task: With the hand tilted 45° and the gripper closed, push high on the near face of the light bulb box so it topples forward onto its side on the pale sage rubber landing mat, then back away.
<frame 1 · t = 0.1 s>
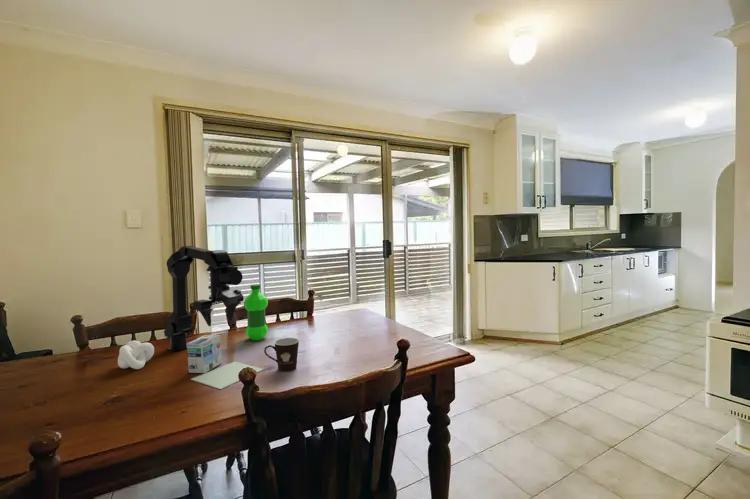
hand: (220, 323, 142), 15 cm above the table, tool pointing down, fingers open, 9 cm apart
white decorative knot: (137, 366, 138), on the table
landing mat: (228, 374, 129), on the table
coffee mug: (283, 368, 134), on the table
plastic bottle: (257, 338, 170), on the table
light bulb box: (206, 368, 135), on the table, touching landing mat
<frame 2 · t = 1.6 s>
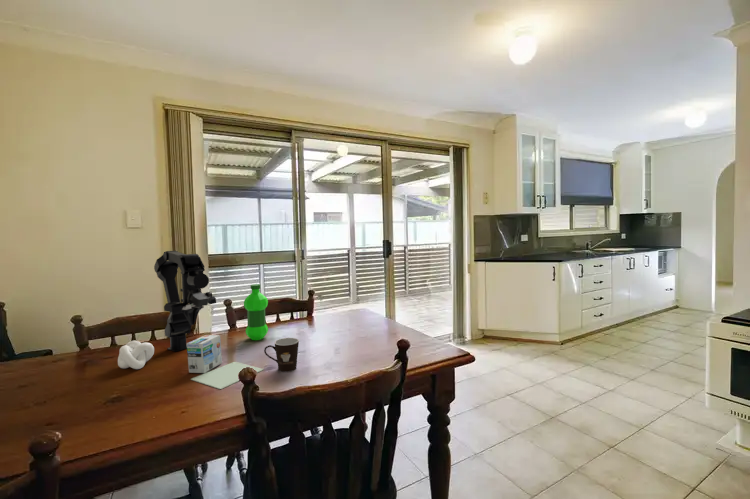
hand: (192, 324, 146), 13 cm above the table, tool pointing down, fingers closed
nothing on the table moved.
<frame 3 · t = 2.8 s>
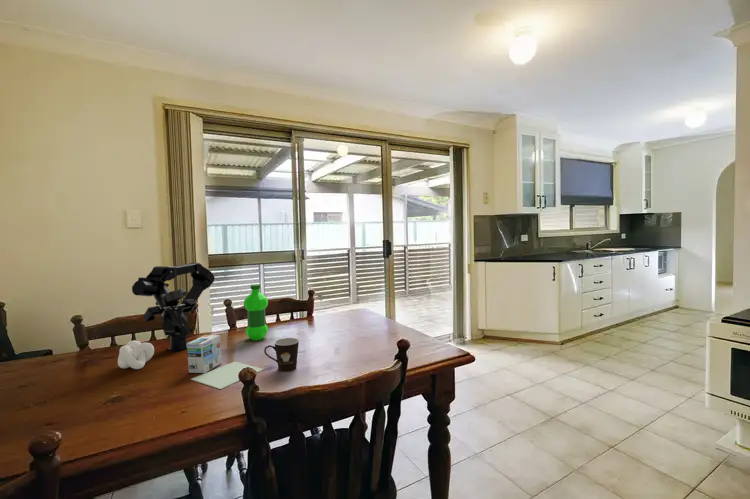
hand: (181, 326, 141), 14 cm above the table, tool tilted 45°, fingers closed
nothing on the table moved.
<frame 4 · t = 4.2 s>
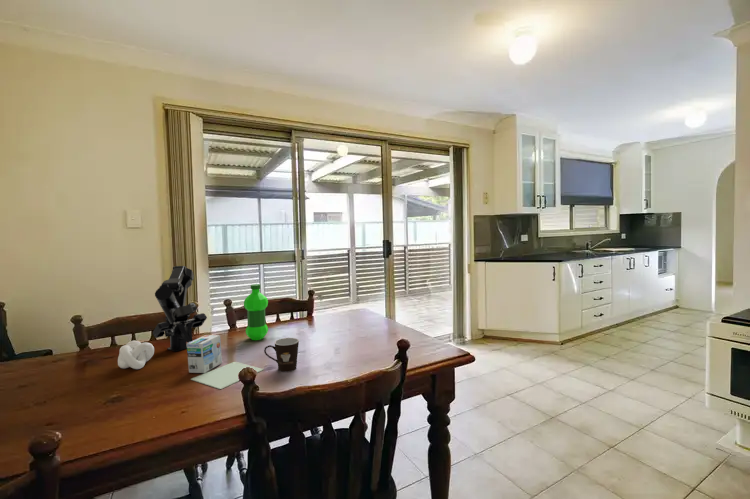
hand: (191, 342, 138), 8 cm above the table, tool tilted 45°, fingers closed
nothing on the table moved.
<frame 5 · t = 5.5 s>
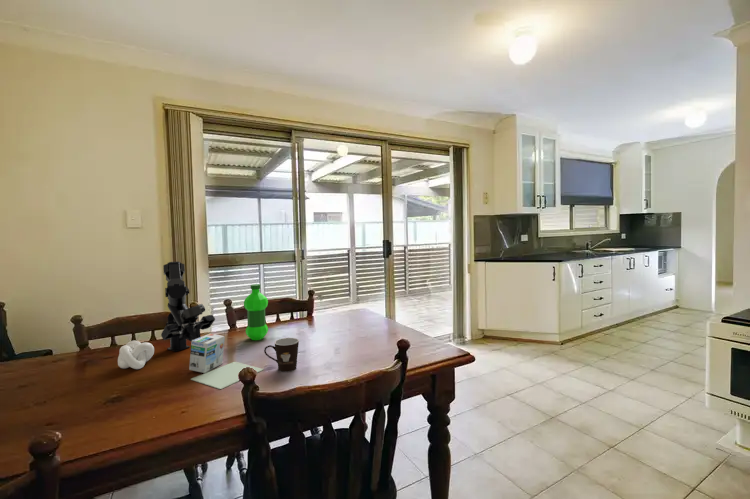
hand: (199, 344, 135), 8 cm above the table, tool tilted 45°, fingers closed
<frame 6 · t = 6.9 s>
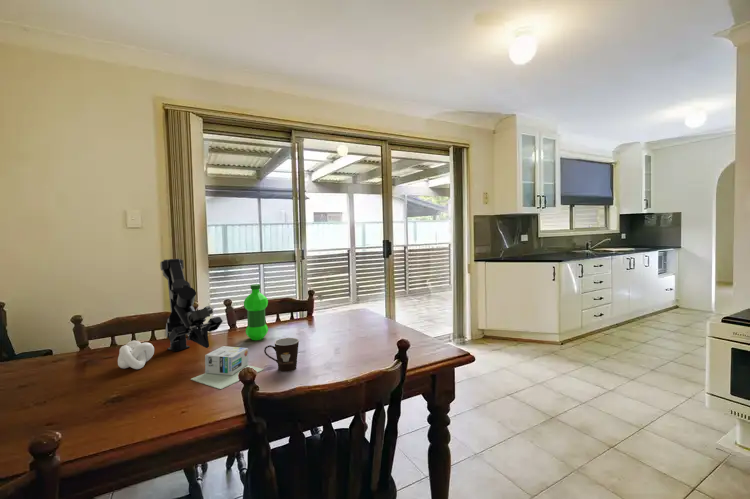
hand: (207, 347, 134), 8 cm above the table, tool tilted 45°, fingers closed
light bulb box: (213, 358, 134), point 4 cm above the table, touching landing mat
everything else where it was.
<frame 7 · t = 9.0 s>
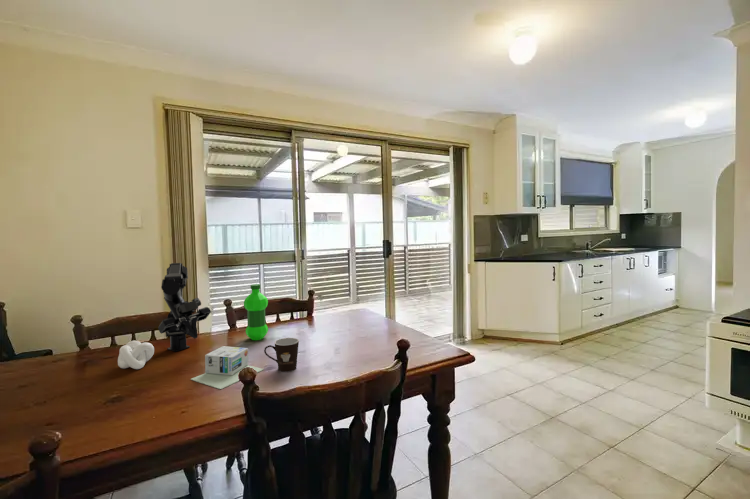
hand: (196, 337, 139), 10 cm above the table, tool tilted 40°, fingers closed
nothing on the table moved.
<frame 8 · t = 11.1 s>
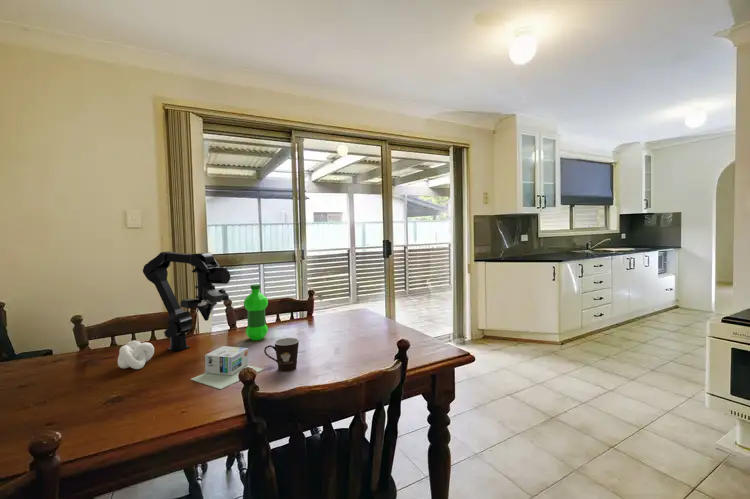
hand: (206, 320, 152), 13 cm above the table, tool pointing down, fingers closed
nothing on the table moved.
at the end: light bulb box tilted 91°; light bulb box inside the target area (3.5 cm from its centre), point 3.7 cm above the table; light bulb box touching landing mat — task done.
